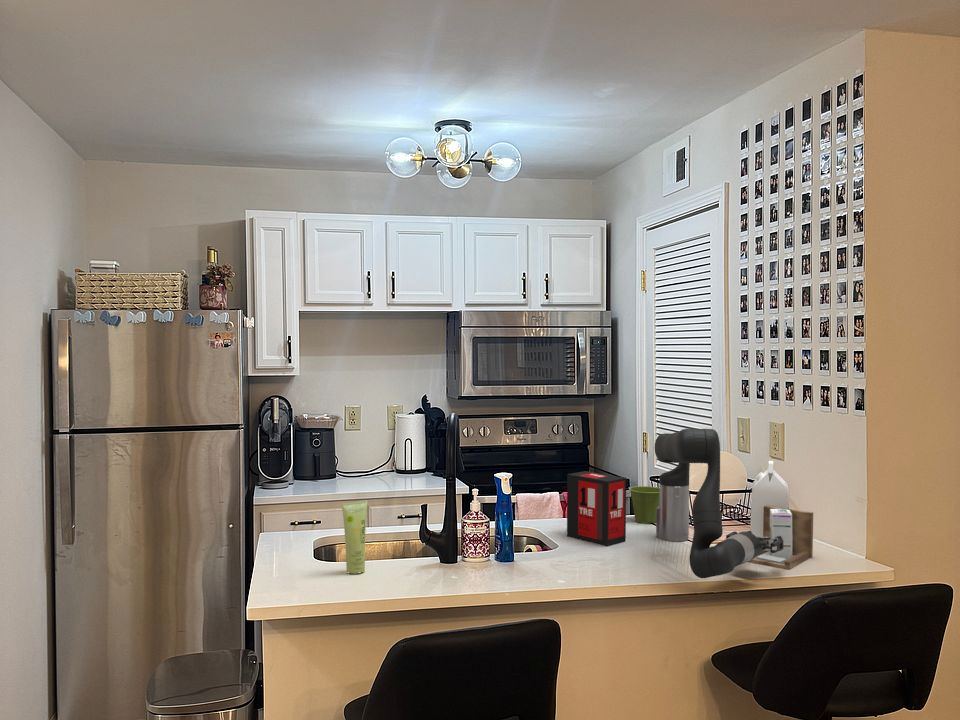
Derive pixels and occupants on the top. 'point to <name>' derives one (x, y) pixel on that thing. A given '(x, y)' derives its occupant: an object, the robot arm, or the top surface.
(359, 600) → the top surface
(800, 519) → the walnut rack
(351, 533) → the tube
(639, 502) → the plant pot
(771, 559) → the grey offcut
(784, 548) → the syrup box
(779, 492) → the milk
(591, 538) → the cleaning product box
